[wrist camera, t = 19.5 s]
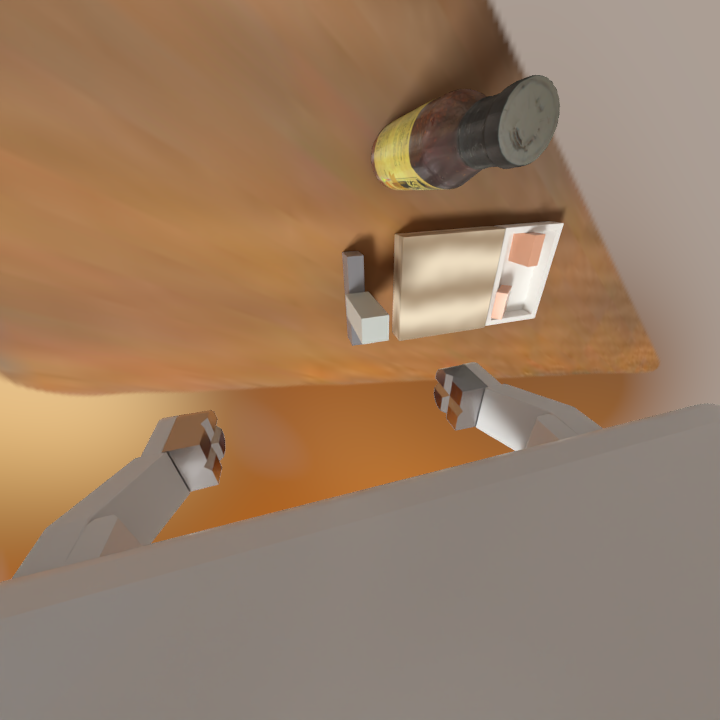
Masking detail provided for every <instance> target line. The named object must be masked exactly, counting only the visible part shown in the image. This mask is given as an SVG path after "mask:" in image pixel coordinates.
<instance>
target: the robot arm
mask: <svg viewBox="0 0 720 720" xmlns="http://www.w3.org/2000/svg"><path fill="white" fill-rule="evenodd" d="M436 379H437V381H438V382H439V383H438V384H437V385H436V386H435V388H434V398H435V402H436V404H437V406H438V408H439V409H440V410H441V411H443V412H445V413H447V417H446V418H447V420H448V421H449V423H450V424H451V425H452V427H453V428H454V429H455V430H460V429H464V428H470V427H475V426H476V428H478V429H480V430H481V431H483V432H485V433H486V434H488V435H490V436H491V437H493V438H495V439H496V440H498V441H500V442H501V443H503V444H505V445H507V446H508V447H510V448H512V449H513V450H515V451H514V452H510V453H506V454H502V455H498V456H494V457H490V458H487V459H482V460H478V461H475V462H471V463H467V464H463V465H459V466H455V467H451V468H447V469H443V470H439V471H435V472H431V473H427V474H423V475H419V476H416V477H412V478H408V479H404V480H400V481H396V482H392V483H388V484H384V485H380V486H376V487H372V488H368V489H365V490H360V491H357V492H353V493H349V494H345V495H341V496H337V497H333V498H329V499H325V500H321V501H317V502H313V503H309V504H306V505H302V506H298V507H294V508H290V509H286V510H282V511H278V512H274V513H270V514H266V515H262V516H258V517H254V518H251V519H247V520H243V521H239V522H235V523H231V524H227V525H223V526H219V527H215V528H211V529H208V530H204V531H199V532H196V533H192V534H188V535H184V536H180V537H176V538H172V539H168V540H164V541H160V542H156V543H152V544H151V542H152V541H153V540H154V539H155V537H156V536H157V535H158V534H159V532H160V531H161V530H162V528H163V527H164V526H165V524H166V523H167V522H168V520H169V519H170V518H171V517H172V515H173V514H174V513H175V512H176V511H177V509H178V508H179V507H180V505H181V504H182V503H183V502H184V500H185V499H186V498H187V496H188V495H189V494H190V491H194V490H198V489H202V488H206V487H210V486H214V485H218V484H219V480H220V475H221V470H222V466H221V464H220V460H221V459H222V458H223V457H224V453H225V438H224V434H223V431H222V429H221V428H219V427H217V426H216V424H217V417H216V415H215V413H214V411H212V410H210V411H204V412H197V413H191V414H184V415H179V416H173V417H167V418H163V419H161V420H160V421H159V422H158V424H157V426H156V428H155V430H154V432H153V434H152V436H151V438H150V440H149V442H148V444H147V446H146V447H145V449H144V452H143V453H142V456H141V457H139V458H135V459H134V460H133V461H131V462H130V463H129V464H127V465H126V466H125V467H123V468H122V469H121V470H120V471H118V472H117V473H116V474H115V475H114V476H112V477H111V478H110V479H108V480H107V481H106V482H104V483H103V484H102V485H101V486H99V487H98V488H97V489H96V490H94V491H93V492H92V493H90V494H89V495H88V496H87V497H86V498H84V499H83V500H82V501H80V502H79V503H78V504H76V505H75V506H74V507H73V508H71V509H70V510H69V511H68V512H66V513H65V514H64V515H62V516H61V517H60V518H59V519H57V520H56V521H55V522H54V523H52V524H51V525H50V526H48V527H47V528H46V529H45V531H44V532H43V534H42V535H41V536H40V538H39V539H38V541H37V542H36V544H35V545H34V547H33V548H32V550H31V551H30V553H29V554H28V555H27V557H26V558H25V560H24V561H23V563H22V565H21V566H20V567H19V569H18V570H17V572H16V573H15V575H14V576H13V578H12V579H11V580H8V581H3V582H0V720H720V405H715V404H699V405H694V406H690V407H686V408H683V409H678V410H675V411H671V412H667V413H663V414H659V415H655V416H652V417H647V418H644V419H639V420H635V421H631V422H628V423H624V424H620V425H616V426H612V427H608V428H604V429H602V428H601V427H600V426H599V425H597V424H596V423H595V422H593V421H592V420H591V419H589V418H588V417H587V416H585V415H584V414H583V413H581V412H580V411H579V410H577V409H576V408H574V407H572V406H569V405H566V404H563V403H560V402H557V401H554V400H551V399H548V398H545V397H542V396H540V395H537V394H534V393H531V392H528V391H525V390H522V389H519V388H516V387H513V386H510V385H507V384H500V383H499V382H498V381H497V380H496V379H495V378H494V377H492V376H491V375H490V374H489V373H488V372H487V371H486V370H484V369H483V368H482V367H481V366H480V365H479V364H477V363H475V362H471V363H467V364H462V365H459V366H454V367H448V368H443V369H438V371H437V373H436Z"/></svg>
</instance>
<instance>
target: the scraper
mask: <svg viewBox="0 0 720 720" xmlns="http://www.w3.org/2000/svg"><path fill="white" fill-rule="evenodd" d="M342 256H343V271H344V285H345V300H346V315H347V329H348V338H349V340H350V342H351V344H352V346H353V345H360V344H368V343H374V342H381V341H387V340H389V314H388V313H387V312H386V311H385V310H384V309H383V307H382V306H381V305H380V304H379V303H378V302H377V301H376V300H375V298H374V297H373V296H372V295H371V294H370V293H369V292H365V289H364V256H363V255H362V254H361V253H360V252H359V251H349V252H342Z"/></svg>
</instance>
